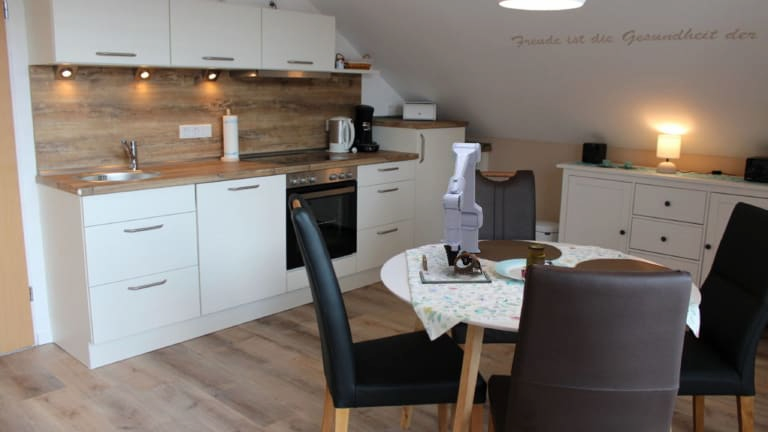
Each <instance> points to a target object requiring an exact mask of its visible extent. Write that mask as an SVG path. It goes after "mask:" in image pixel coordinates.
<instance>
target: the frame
mask: <svg viewBox="0 0 768 432" xmlns="http://www.w3.org/2000/svg"><path fill="white" fill-rule="evenodd" d="M482 275H484V278H485V279H486V280H485V279H484V280H483V279H481V280H480V279H479V280H476V279H475V280H471V279H470V280H469V279H467V280H426V279H425V275H424V273H423V271H422V270H420V271H419V276H420V280H421V284H423V285H426V284H427V285H429V284H430V285H431V284H492V283H493V281H492V279H491V277H490V275H488V272H487V271H486V270H482Z"/></svg>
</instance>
